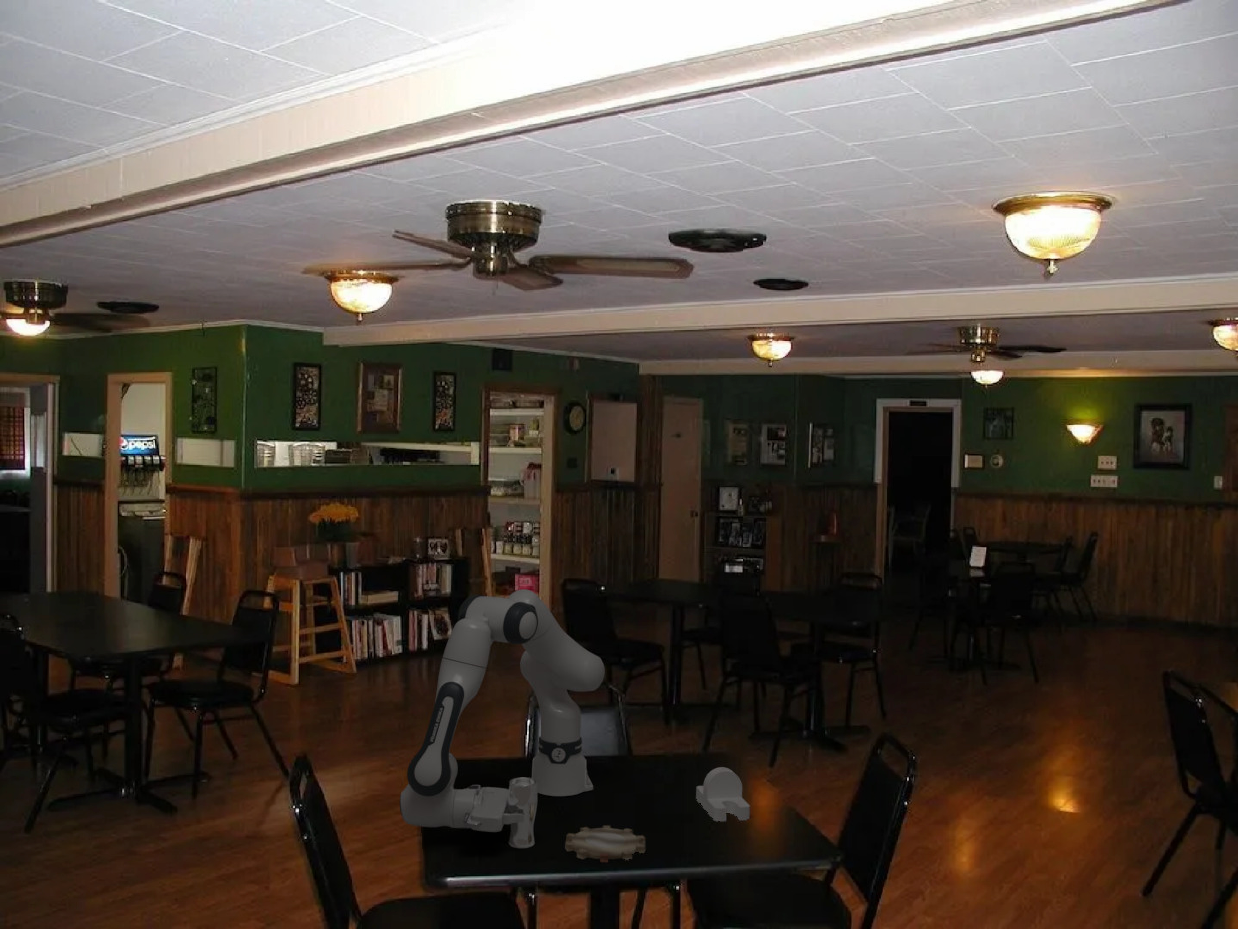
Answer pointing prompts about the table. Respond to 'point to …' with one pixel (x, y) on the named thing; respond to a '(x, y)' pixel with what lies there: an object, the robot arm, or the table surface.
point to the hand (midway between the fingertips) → (526, 810)
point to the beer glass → (522, 810)
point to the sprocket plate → (605, 843)
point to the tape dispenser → (722, 795)
